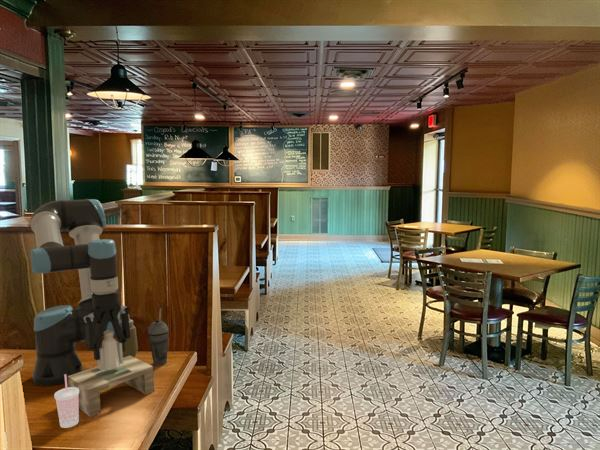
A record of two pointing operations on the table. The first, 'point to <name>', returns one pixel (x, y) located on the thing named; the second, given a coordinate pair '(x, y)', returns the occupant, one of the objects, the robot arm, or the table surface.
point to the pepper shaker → (110, 351)
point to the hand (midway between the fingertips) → (110, 365)
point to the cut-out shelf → (110, 382)
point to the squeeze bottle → (130, 341)
